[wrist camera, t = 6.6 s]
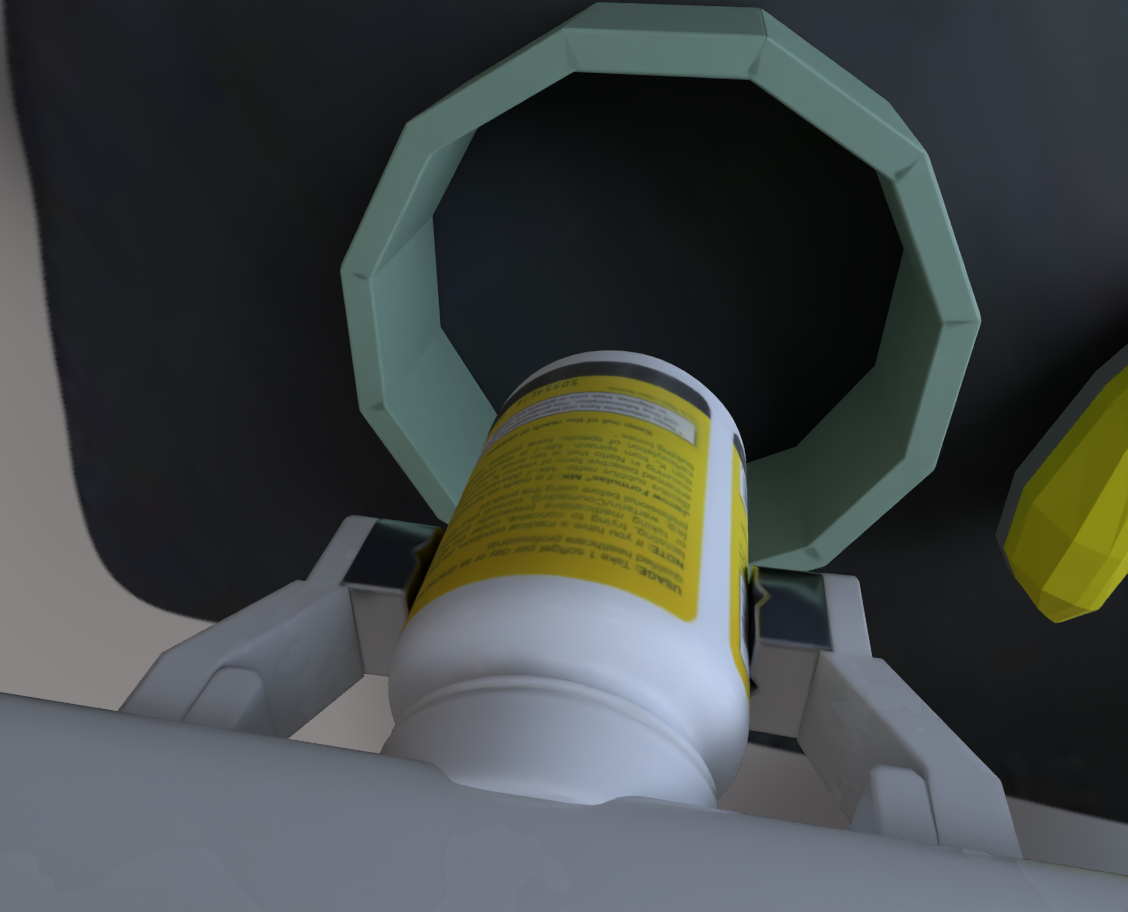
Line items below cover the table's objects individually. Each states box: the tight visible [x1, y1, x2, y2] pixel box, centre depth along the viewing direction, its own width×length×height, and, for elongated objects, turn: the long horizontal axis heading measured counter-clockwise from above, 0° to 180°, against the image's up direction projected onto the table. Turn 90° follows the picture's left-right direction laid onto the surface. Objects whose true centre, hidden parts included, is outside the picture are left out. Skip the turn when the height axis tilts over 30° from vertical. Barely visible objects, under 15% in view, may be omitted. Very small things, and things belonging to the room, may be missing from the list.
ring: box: [340, 2, 981, 583], centre depth 22 cm, size 15×15×5 cm
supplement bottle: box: [380, 350, 750, 809], centre depth 12 cm, size 5×5×8 cm
